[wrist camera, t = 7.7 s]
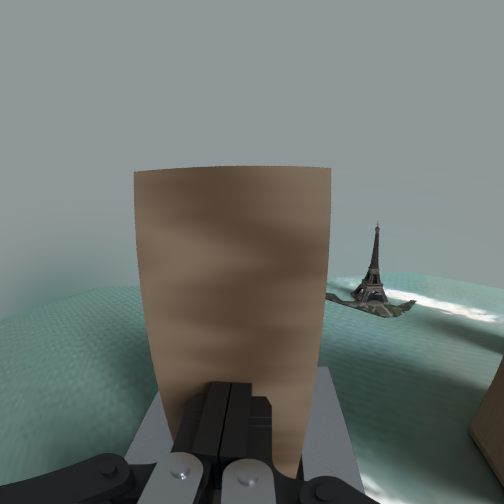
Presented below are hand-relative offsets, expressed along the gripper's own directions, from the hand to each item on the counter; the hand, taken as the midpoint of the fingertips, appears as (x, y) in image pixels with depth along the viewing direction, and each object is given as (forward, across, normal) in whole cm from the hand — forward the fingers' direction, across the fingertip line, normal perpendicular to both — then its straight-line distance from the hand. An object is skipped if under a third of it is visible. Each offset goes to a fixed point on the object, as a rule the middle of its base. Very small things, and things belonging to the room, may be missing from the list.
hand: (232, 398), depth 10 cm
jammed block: (+3, 0, +8) cm, 8 cm away
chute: (-1, 0, +9) cm, 9 cm away
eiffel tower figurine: (+32, -18, +10) cm, 38 cm away
